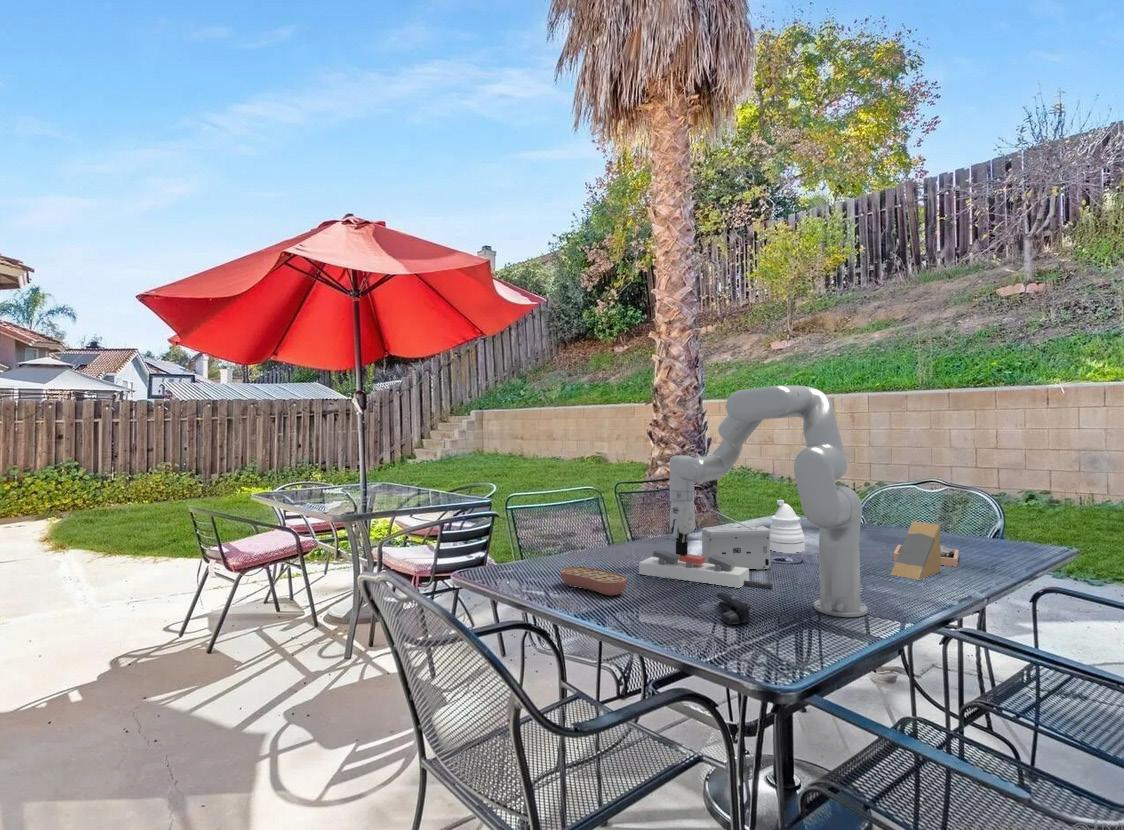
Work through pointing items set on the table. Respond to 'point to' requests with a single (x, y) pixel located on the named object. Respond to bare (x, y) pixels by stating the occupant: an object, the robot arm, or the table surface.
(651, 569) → the power strip
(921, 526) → the sandwich container
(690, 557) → the rocker red
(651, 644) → the table surface
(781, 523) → the honey pot
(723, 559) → the rocker near
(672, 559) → the rocker far
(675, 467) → the robot arm
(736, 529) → the stereo radio cassette player
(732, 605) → the can opener
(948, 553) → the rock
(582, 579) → the brown long rounded block
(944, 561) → the tan wooden tray
